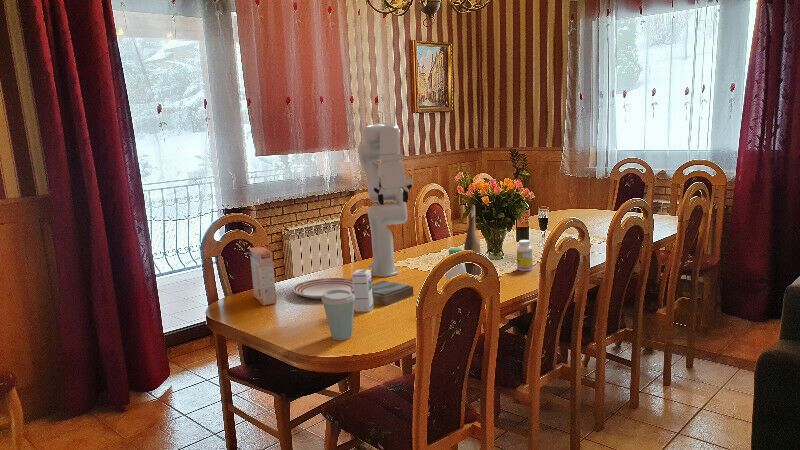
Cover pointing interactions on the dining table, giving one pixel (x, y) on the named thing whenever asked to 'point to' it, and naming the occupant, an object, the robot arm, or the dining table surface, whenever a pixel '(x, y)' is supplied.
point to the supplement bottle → (524, 256)
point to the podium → (390, 292)
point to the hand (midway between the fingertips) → (393, 203)
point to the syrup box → (363, 290)
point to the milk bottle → (456, 269)
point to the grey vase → (472, 243)
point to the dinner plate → (322, 286)
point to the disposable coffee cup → (339, 312)
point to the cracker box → (263, 275)
